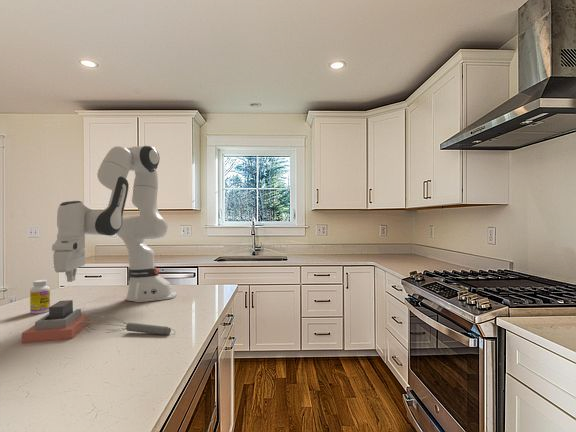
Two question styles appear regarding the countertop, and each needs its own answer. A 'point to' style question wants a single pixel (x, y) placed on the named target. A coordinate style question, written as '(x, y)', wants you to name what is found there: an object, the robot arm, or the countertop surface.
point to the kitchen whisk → (137, 327)
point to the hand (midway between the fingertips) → (71, 281)
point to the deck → (55, 328)
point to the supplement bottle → (39, 297)
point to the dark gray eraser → (60, 309)
